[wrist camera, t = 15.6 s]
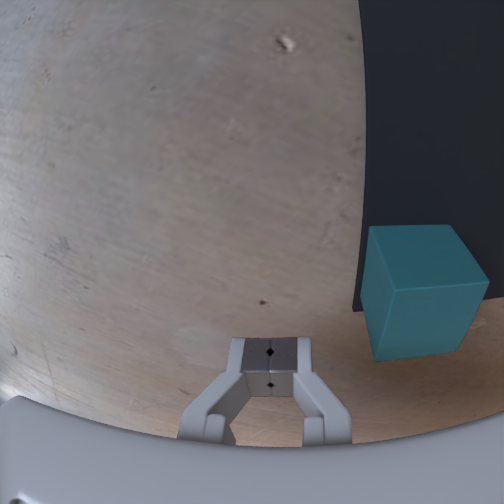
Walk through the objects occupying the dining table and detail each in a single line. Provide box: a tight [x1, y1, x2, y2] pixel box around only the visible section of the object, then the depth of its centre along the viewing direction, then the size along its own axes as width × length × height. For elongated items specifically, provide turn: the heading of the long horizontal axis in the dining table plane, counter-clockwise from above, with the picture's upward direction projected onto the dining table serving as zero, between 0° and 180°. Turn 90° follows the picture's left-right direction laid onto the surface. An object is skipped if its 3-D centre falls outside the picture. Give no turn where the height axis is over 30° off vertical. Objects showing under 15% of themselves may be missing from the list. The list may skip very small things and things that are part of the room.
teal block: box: [360, 225, 489, 362], centre depth 13 cm, size 4×4×4 cm
